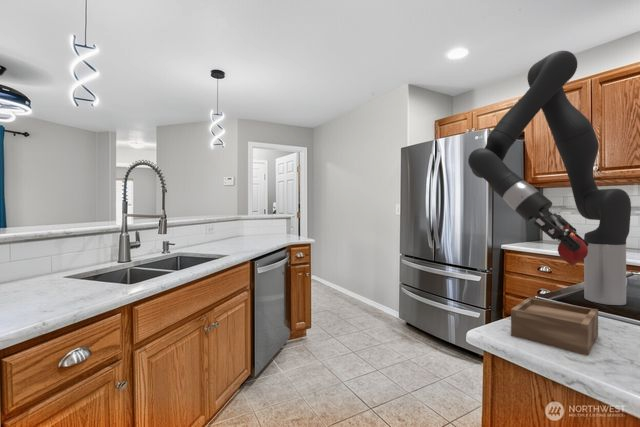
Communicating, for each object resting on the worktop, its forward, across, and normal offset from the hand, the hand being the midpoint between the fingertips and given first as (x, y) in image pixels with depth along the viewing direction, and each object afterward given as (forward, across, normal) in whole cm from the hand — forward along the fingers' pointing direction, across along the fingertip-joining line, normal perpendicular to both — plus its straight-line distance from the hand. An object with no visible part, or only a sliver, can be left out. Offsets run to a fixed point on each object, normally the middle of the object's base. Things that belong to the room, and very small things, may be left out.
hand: (581, 248), depth 76 cm
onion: (+2, 0, +4) cm, 5 cm away
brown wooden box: (+12, -14, +14) cm, 24 cm away
